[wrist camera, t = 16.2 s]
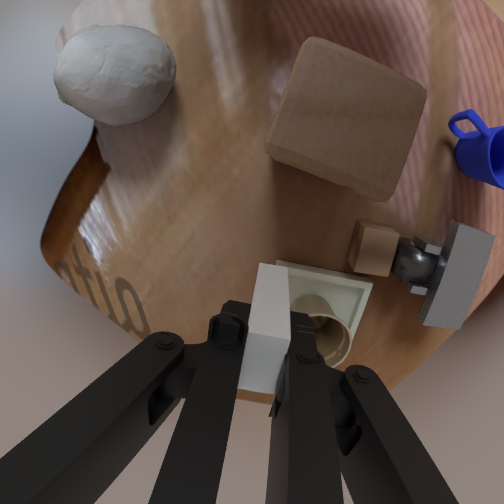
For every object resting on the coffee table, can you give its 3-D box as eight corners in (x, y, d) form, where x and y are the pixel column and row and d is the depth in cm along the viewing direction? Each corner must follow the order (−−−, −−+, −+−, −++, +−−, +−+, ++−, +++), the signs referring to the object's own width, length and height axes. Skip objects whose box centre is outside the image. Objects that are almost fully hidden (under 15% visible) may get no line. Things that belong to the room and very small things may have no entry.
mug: (448, 98, 33) (486, 89, 23) (494, 154, 34) (534, 159, 25) (422, 136, 35) (459, 134, 26) (471, 192, 37) (511, 204, 27)
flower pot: (342, 333, 45) (353, 367, 37) (283, 342, 46) (283, 378, 38) (338, 278, 42) (350, 307, 34) (273, 289, 44) (271, 320, 35)
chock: (356, 219, 40) (365, 226, 36) (388, 225, 40) (400, 233, 36) (347, 259, 42) (354, 271, 38) (378, 265, 42) (388, 276, 38)
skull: (99, 33, 34) (50, 5, 20) (200, 57, 37) (179, 23, 23) (69, 106, 38) (10, 103, 24) (165, 137, 41) (127, 139, 27)
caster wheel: (397, 199, 38) (424, 212, 30) (463, 220, 38) (495, 236, 30) (371, 291, 43) (388, 320, 35) (435, 302, 43) (459, 329, 34)
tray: (276, 259, 43) (276, 264, 41) (369, 277, 42) (373, 283, 40) (257, 340, 47) (256, 348, 45) (341, 354, 47) (343, 362, 45)
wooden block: (339, 182, 39) (392, 209, 20) (268, 154, 38) (259, 154, 19) (364, 115, 35) (434, 87, 17) (294, 86, 35) (307, 27, 16)
